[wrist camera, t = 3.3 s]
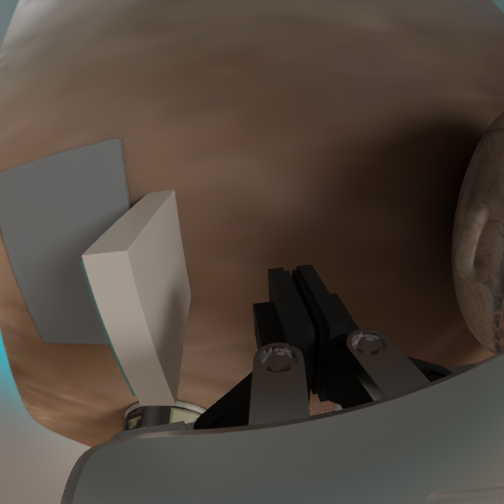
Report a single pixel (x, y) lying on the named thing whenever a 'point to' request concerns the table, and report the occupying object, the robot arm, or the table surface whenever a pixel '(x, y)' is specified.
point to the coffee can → (159, 415)
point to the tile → (143, 295)
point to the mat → (61, 233)
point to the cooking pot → (482, 241)
